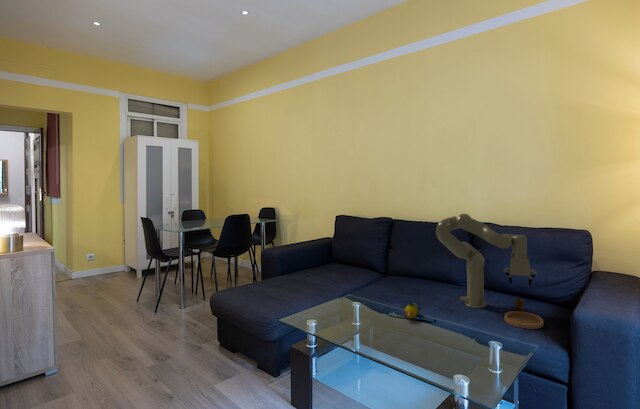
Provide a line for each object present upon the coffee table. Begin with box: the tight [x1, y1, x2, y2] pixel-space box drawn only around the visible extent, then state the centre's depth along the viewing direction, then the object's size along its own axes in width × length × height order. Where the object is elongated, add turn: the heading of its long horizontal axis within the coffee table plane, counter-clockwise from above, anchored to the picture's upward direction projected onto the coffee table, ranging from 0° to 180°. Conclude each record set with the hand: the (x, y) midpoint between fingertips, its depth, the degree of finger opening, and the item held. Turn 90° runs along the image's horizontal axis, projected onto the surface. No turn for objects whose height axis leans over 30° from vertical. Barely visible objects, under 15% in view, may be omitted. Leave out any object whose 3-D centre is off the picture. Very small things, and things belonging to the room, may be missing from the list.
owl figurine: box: [387, 302, 422, 321], centre depth 203 cm, size 28×9×15 cm
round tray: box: [503, 310, 544, 330], centre depth 191 cm, size 19×19×2 cm
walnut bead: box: [513, 297, 525, 312], centre depth 205 cm, size 5×5×7 cm
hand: (520, 284), depth 204 cm, fingers open, 9 cm apart
